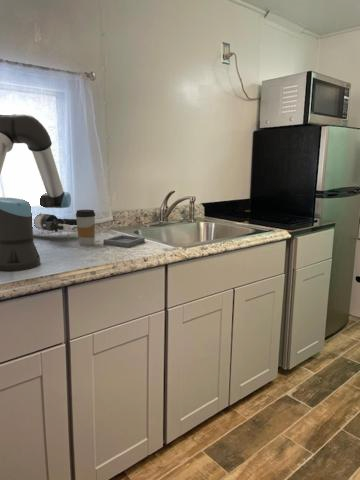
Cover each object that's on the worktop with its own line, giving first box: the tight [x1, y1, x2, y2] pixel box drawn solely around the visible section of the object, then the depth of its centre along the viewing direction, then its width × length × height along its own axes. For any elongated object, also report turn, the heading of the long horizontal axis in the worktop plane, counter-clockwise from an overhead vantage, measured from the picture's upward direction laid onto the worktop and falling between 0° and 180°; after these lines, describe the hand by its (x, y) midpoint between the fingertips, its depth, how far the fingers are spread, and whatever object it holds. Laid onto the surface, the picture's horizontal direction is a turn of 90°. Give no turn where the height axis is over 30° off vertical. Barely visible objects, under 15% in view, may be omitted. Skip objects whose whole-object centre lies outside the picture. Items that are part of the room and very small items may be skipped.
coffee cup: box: [75, 209, 96, 247], centre depth 163 cm, size 8×8×15 cm
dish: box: [103, 234, 146, 249], centre depth 166 cm, size 13×13×2 cm
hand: (81, 226), depth 165 cm, fingers open, 13 cm apart
